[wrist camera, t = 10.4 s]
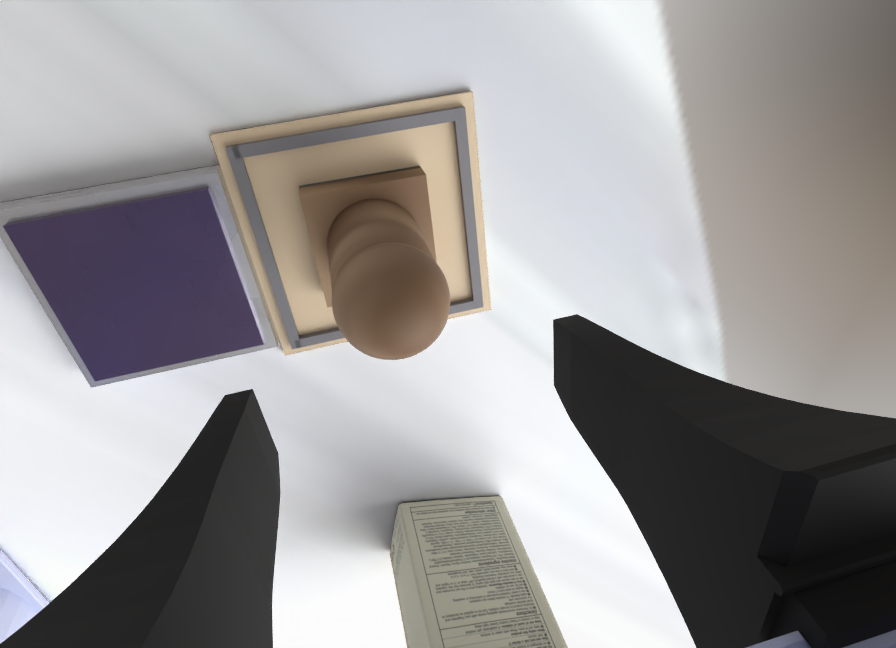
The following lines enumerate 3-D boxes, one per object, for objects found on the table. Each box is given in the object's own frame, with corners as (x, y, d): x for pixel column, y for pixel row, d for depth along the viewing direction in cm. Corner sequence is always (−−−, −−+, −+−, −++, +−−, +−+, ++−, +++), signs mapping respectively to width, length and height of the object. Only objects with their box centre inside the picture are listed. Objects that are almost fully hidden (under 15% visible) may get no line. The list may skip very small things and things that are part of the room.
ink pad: (99, 372, 22) (88, 392, 20) (0, 202, 18) (-19, 216, 17) (278, 333, 22) (277, 350, 21) (220, 164, 19) (216, 174, 18)
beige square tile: (284, 352, 23) (284, 359, 23) (211, 134, 18) (208, 137, 18) (489, 307, 24) (493, 312, 24) (471, 90, 19) (475, 93, 19)
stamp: (325, 292, 22) (336, 410, 16) (299, 185, 19) (299, 275, 13) (433, 272, 22) (483, 377, 16) (419, 165, 20) (473, 242, 14)
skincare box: (388, 553, 31) (431, 822, 21) (397, 497, 29) (451, 768, 19) (491, 543, 33) (576, 788, 23) (507, 491, 31) (609, 735, 21)
